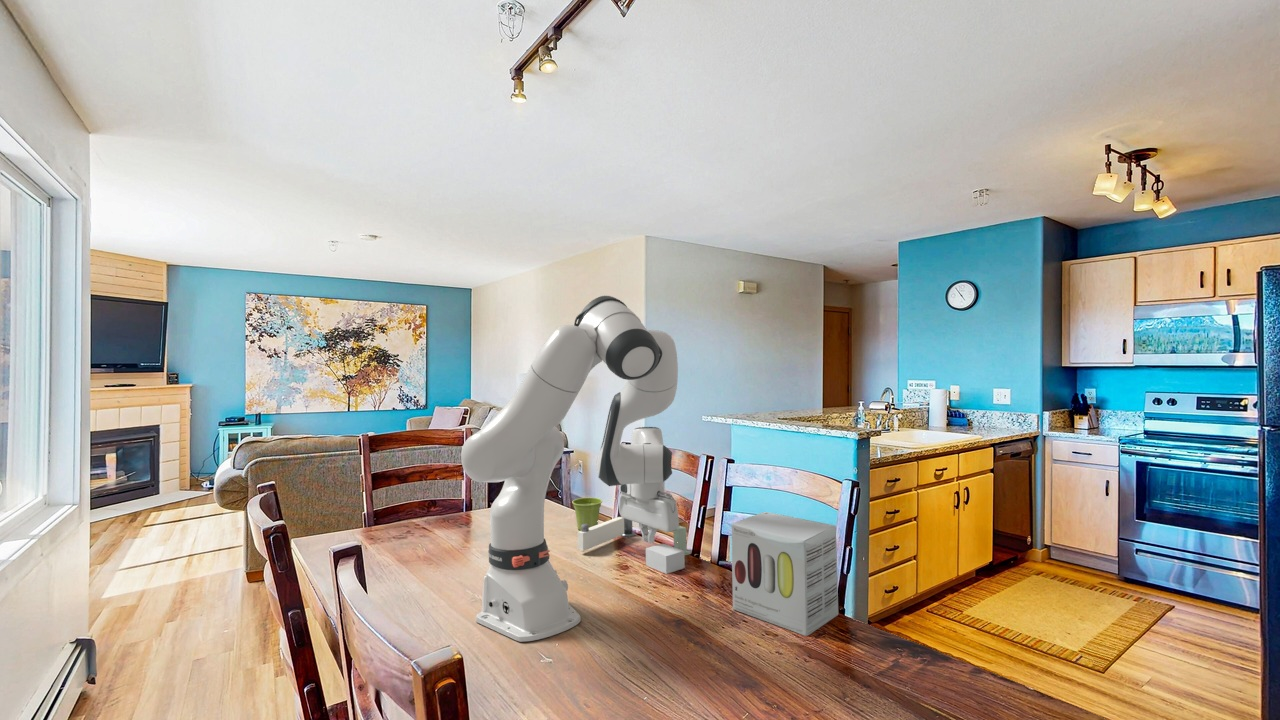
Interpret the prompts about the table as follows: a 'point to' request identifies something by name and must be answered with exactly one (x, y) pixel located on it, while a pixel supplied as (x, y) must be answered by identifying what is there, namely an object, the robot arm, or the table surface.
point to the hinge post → (628, 528)
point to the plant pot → (587, 511)
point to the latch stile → (681, 540)
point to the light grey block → (665, 558)
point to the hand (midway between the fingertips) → (648, 541)
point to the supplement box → (785, 571)
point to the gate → (599, 533)
